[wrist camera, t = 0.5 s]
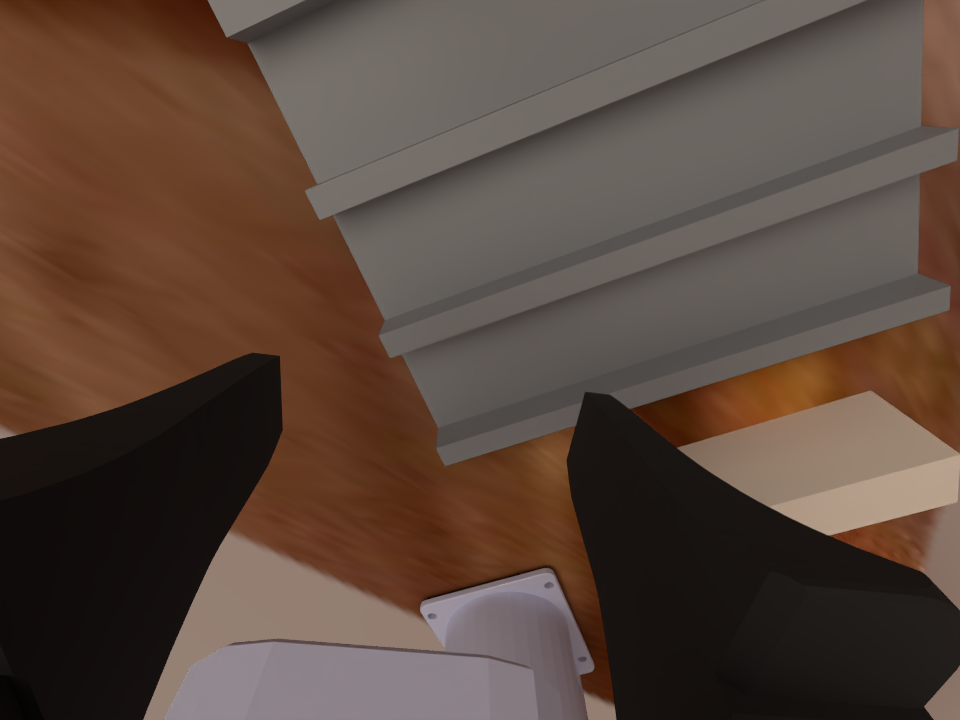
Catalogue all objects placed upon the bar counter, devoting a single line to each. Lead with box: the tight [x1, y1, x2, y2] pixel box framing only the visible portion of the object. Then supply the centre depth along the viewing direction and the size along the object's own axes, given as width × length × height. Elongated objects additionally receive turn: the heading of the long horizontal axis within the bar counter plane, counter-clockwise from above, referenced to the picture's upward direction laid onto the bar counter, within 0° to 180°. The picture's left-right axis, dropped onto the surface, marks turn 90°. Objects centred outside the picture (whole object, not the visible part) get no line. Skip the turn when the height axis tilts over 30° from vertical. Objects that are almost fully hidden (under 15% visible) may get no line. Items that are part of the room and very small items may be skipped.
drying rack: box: [208, 0, 959, 466], centre depth 18 cm, size 18×20×3 cm
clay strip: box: [677, 391, 960, 536], centre depth 23 cm, size 14×2×5 cm, turn 111°
